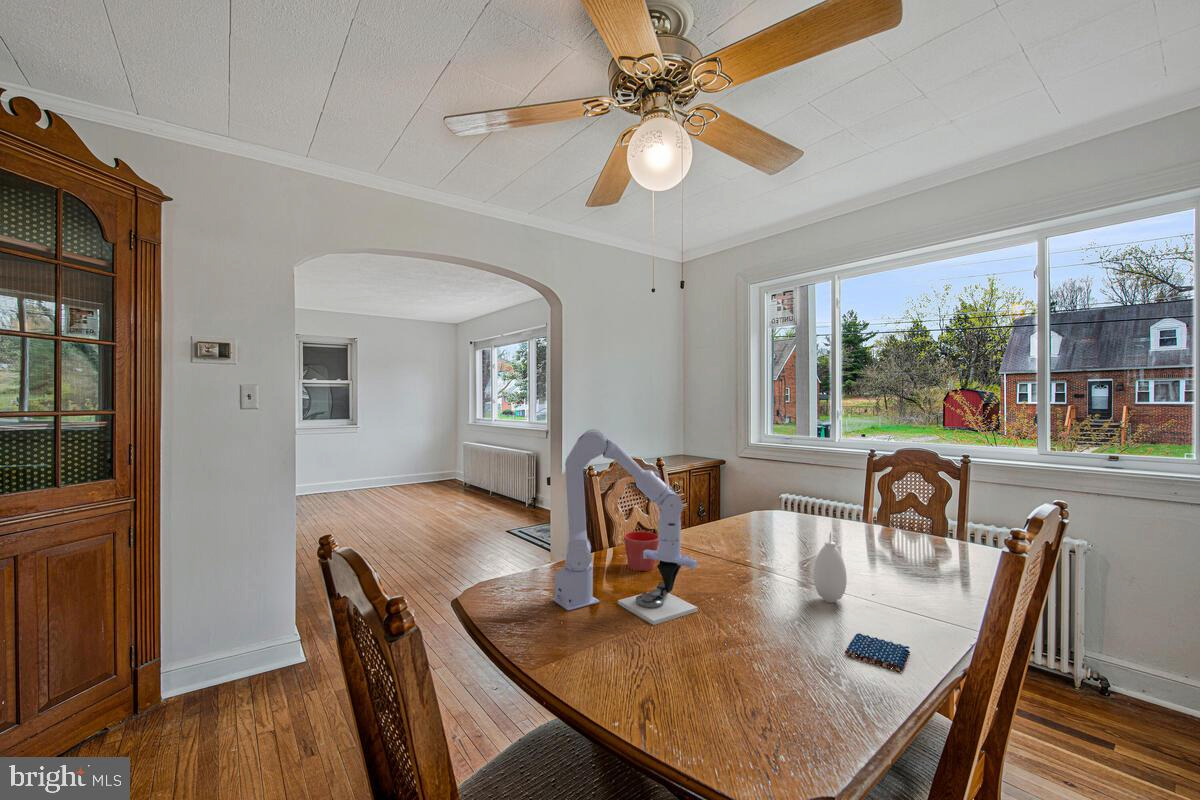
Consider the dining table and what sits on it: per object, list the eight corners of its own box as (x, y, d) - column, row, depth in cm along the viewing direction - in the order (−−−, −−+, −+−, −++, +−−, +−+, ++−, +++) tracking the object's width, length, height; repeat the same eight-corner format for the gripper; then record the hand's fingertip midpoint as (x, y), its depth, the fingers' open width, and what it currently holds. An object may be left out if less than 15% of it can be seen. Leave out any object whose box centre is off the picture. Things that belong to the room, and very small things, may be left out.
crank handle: (653, 610, 121) (653, 600, 121) (630, 602, 126) (630, 592, 126) (677, 596, 130) (677, 586, 130) (654, 589, 134) (654, 580, 134)
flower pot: (647, 575, 149) (647, 542, 149) (616, 567, 155) (617, 536, 155) (665, 566, 157) (665, 535, 157) (635, 559, 164) (636, 529, 164)
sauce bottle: (850, 608, 126) (850, 537, 126) (816, 606, 128) (817, 535, 128) (841, 596, 134) (842, 529, 134) (810, 594, 135) (811, 527, 135)
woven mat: (854, 639, 111) (854, 630, 111) (910, 655, 105) (910, 645, 105) (842, 658, 103) (842, 648, 103) (902, 676, 97) (902, 665, 97)
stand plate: (653, 625, 116) (653, 620, 116) (618, 604, 128) (618, 599, 128) (697, 611, 124) (697, 606, 124) (660, 592, 136) (660, 588, 136)
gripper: (702, 539, 129) (701, 592, 129) (652, 530, 137) (652, 580, 138) (690, 546, 123) (689, 601, 123) (639, 536, 132) (638, 588, 132)
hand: (669, 590), depth 130 cm, fingers closed
